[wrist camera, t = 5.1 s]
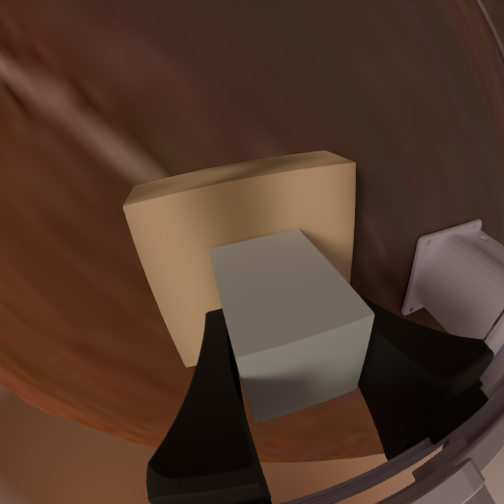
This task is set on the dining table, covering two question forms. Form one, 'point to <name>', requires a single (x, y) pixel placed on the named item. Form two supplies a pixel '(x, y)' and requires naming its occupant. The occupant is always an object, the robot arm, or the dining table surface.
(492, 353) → the robot arm
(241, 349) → the gray block
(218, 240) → the maple pedestal
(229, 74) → the dining table surface
